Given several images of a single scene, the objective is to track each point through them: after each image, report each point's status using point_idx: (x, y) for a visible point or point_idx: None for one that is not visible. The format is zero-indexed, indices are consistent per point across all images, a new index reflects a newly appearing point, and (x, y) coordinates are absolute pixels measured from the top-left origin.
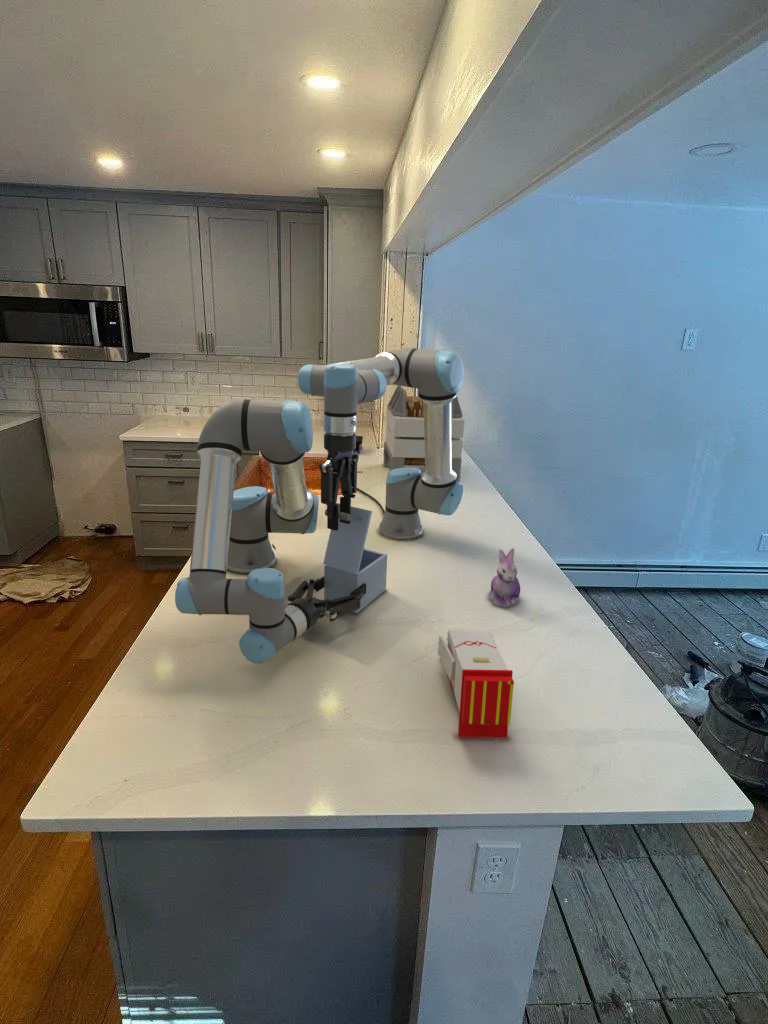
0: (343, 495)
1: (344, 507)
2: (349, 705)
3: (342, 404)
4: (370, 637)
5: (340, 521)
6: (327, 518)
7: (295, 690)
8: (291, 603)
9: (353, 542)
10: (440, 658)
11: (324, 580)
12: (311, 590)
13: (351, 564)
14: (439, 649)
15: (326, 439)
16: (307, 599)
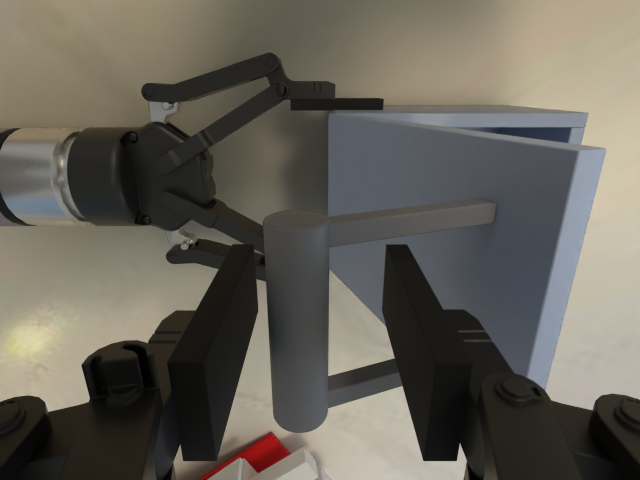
0: (477, 397)
1: (405, 349)
2: (52, 366)
3: None
4: (257, 295)
5: (385, 253)
6: (215, 278)
7: (4, 271)
8: (69, 164)
9: (383, 275)
10: (222, 470)
11: (333, 111)
12: (234, 126)
13: (339, 250)
14: (230, 474)
15: None
16: (160, 167)
